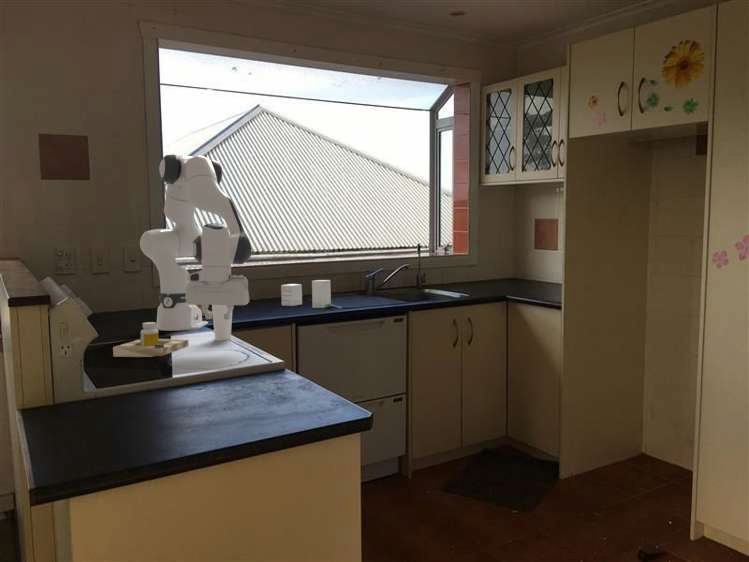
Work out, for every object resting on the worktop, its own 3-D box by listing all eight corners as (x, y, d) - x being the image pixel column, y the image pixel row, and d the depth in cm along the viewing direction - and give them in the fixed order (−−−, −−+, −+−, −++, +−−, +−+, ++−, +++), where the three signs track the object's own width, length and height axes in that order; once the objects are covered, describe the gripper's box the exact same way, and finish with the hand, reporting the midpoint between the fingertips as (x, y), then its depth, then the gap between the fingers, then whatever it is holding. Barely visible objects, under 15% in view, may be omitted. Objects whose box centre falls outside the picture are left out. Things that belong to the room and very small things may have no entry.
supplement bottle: (137, 353, 204) (136, 323, 203) (151, 350, 209) (150, 321, 208) (148, 354, 201) (147, 324, 201) (162, 352, 206) (161, 322, 205)
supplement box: (291, 308, 320) (291, 283, 319) (302, 309, 316) (302, 284, 315) (281, 310, 314) (280, 284, 313) (292, 311, 310) (291, 285, 309)
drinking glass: (211, 342, 223) (210, 299, 222) (231, 341, 226) (230, 298, 225) (214, 345, 217) (213, 301, 216) (234, 344, 220) (233, 300, 218)
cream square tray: (143, 347, 215) (142, 335, 214) (188, 348, 211) (188, 336, 211) (113, 356, 199) (112, 343, 198) (161, 358, 195) (161, 345, 195)
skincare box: (324, 314, 297) (323, 281, 296) (311, 313, 299) (310, 280, 298) (331, 312, 305) (331, 279, 304) (319, 311, 307) (318, 279, 306)
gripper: (251, 274, 201) (252, 318, 202) (192, 274, 206) (193, 317, 207) (243, 276, 195) (244, 321, 196) (182, 275, 199) (183, 319, 200)
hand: (218, 319), depth 201 cm, fingers open, 5 cm apart
